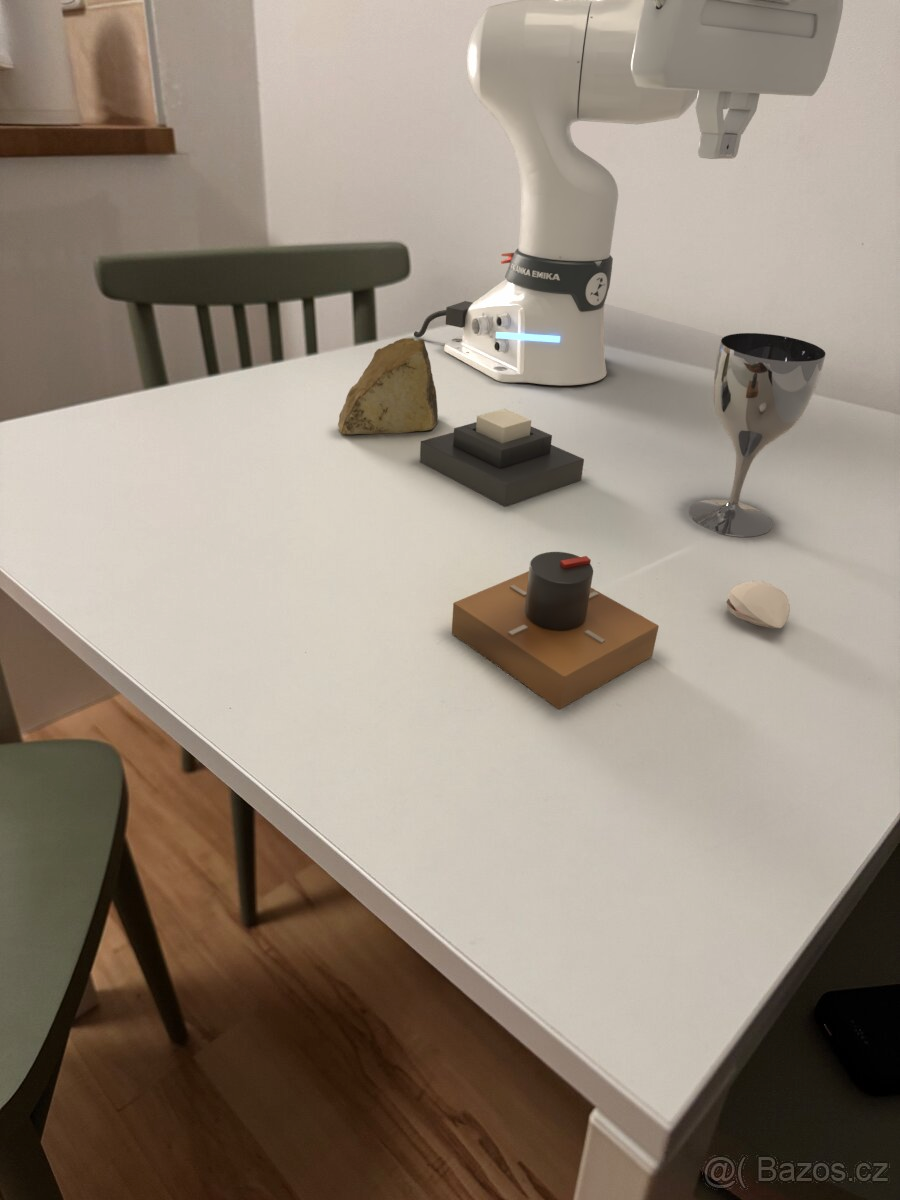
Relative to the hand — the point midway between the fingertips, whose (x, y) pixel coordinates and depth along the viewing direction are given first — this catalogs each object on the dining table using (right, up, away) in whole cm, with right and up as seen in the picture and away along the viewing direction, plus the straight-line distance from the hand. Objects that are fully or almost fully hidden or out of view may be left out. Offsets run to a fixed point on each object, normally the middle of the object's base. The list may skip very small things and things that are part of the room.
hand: (716, 158), depth 69 cm
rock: (-28, -18, +20) cm, 39 cm away
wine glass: (+3, -29, +5) cm, 30 cm away
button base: (-17, -24, +12) cm, 32 cm away
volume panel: (-15, -39, -12) cm, 44 cm away
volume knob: (-15, -37, -14) cm, 42 cm away
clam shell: (0, -38, -9) cm, 39 cm away
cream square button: (-17, -21, +10) cm, 28 cm away
